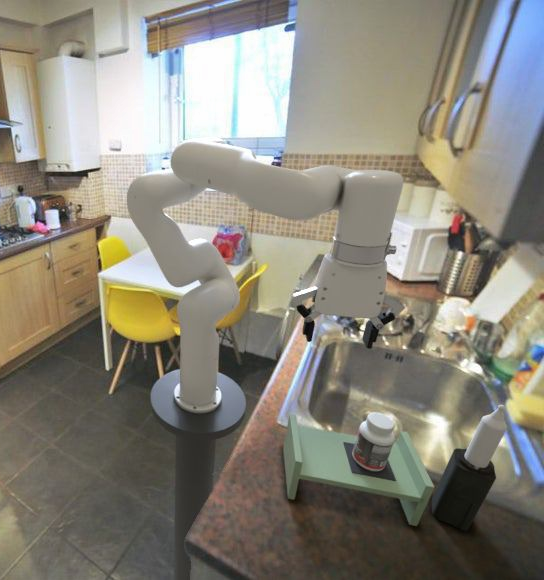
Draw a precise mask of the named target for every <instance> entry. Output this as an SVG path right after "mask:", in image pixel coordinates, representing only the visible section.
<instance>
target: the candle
mask: <svg viewBox="0 0 544 580" xmlns="http://www.w3.org/2000/svg"><path fill="white" fill-rule="evenodd" d="M506 409H507V407H506V406H505V405H504V404H499V405H498V406H497V409H495V410H494V411H493V412H491V413H490V414H487V415H483V416H482V418H481V419H480V421H479V423H478V425H477V427H476V429H475V432H474V434H473V436H472V438H471V440H470V443H469V445H468V446H467V448H458V447H457V448H454V449H453V451H452V453H451V456H450V458H449V460H448V462H447V464H446V466H445V469H444V471H443V473H442V475H441V476H440V480H439V482H438V484H437V486H436V488H435V491H434V493H433V494H432V496H431V513H432V516H433V517H434V518H435V519H437V520H438V521H440V522H444V523H447V524H448V525H450V526H453V527H455V528H458V529H459V530H461V531H468V530H469V529H470V527H471V525H472V523H473V522H474V520H475V518H476V516H477V514H478V513H479V510H480V509H481V507H482V505H483V503H484V501H485V499H486V498H487V496H488V494H489V492H490V490H491V488H492V487H493V485H494V484H495V481H496V479H497V475H496V471H495V464H494V463H493V462H492V458H493V456H494V455H495V453H496V451H497V448H499V444H500V443H501V441H502V439H503V437H504V435H505V433H506V431H507V429H508V425H507V423H506V420H505V411H506Z"/></svg>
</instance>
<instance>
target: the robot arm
mask: <svg viewBox="0 0 544 580" xmlns="http://www.w3.org/2000/svg"><path fill="white" fill-rule="evenodd" d="M403 185H404V178H403V176H402V174H401V173H399V172H396V171H392V170H385V169H353V168H347V167H342V166H339V165H331V164H329V165H328V164H326V165H319V166H315V167H311V168H310V167H309V168H307V169H304V170H299V169H293V168H292V169H291V168H287V167H284V166H283V167H282V166H277V165H274V164H273V165H272V164H268V163H265V162H262V161H260V160H257V157H256V154H255V152H254V151H253V150H252V149H249V148H245V147H240V146H236V145H235V146H233V145H229V144H228V142H226V141H224V140H223V139H221V138H219V137H218V138H217V137H203V138H201V137H200V138H192V139H187V140H184V141H183V142H181V143H179V144H178V145H177V146H176V147H175V148H174V150H173V151H172V154H171V156H170V168H168V169H159V170H153V171H149V172H146V173H142V174H140V175H139V176H137V177H135V178H134V179H133V181H132V182H130V184H129V186H128V188H127V192H126V208H127V212H128V214H129V217H130V219H131V221H132V223H133V224H134V226H135V228H136V229H137V230H138V232H139V233H140V234H141V236H142V238H143V239H144V241H145V242H146V245H148V247H149V250H150V252H151V253H152V256H153V258H154V260H155V261H156V264H157V265H158V267H159V269H160V271H161V273H162V274H163V276H164V278H165V279H166V282H168V284H169V285H170V286H172V287H174V288H184V287H186V286H189V285H191V284H193V283H195V282H197V281H198V282H199V285H197V286H196V287H194V288H192V289H190V290H189V291H187V292H186V293H184V294H183V295H182V296H181V297H180V299H179V300H178V302H177V306H176V315H177V320H178V324H179V336H180V337H179V340H180V341H179V342H180V343H179V348H180V349H179V351H180V352H179V369H180V383H179V384H178V385H177V386H176V387H175V390H174V399H175V401H176V403H177V404H178V405H179V406H180V407H181V408H183V409H184V410H186V411H189V412H193V413H207V412H211V411H213V410H215V409H216V408H217V407H218V406H219V405H220V403H221V400H222V394H221V391H220V389H219V388H218V387H217V372H219V371H218V369H219V354H220V336H219V334H218V332H217V324H218V322H219V321H221V320H222V319H224V318H225V317H226V316H228V315H229V314H231V313H232V312H234V310H236V309H237V308H238V306H239V304H240V301H241V293H240V289H239V286H238V284H237V282H236V280H235V278H234V276H233V274H232V272H231V271H230V269H229V267H228V265H227V263H226V261H225V259H224V257H223V256H222V254H221V252H220V251H219V249H218V248H217V246H216V245H214V244H213V243H212V242H211V241H209V240H206V239H203V238H197V239H193V240H190V241H188V240H187V238H186V237H185V235H184V234H183V232H182V230H181V228H180V226H179V225H178V223H177V222H176V221H175V220H174V219H173V218H172V217H170V215H168V214H166V213H165V212H164V209H166V208H171V207H174V206H178V205H181V204H185V203H187V202H189V201H191V200H193V199H195V198H196V197H197V196H198V195H200V194H201V193H202V192H204V191H205V190H207V189H209V190H213V191H216V192H221V193H223V194H227V195H230V196H234V197H235V198H236V199H237V200H238V201H240V202H241V203H243V205H245V206H247V207H248V208H251V209H253V210H255V211H258V212H261V213H265V214H268V215H272V216H274V217H278V218H281V219H285V220H289V221H297V222H298V221H299V222H300V221H302V222H303V221H305V222H306V221H310V220H314V219H315V218H317V217H320V216H321V215H323V214H326V213H330V212H335V211H337V212H338V214H337V219H336V225H335V229H334V233H333V234H334V235H333V239H332V244H331V249H330V253H329V252H328V253H325V254H324V256H323V259H322V260H321V262H320V263H321V264H320V266H319V269H318V272H317V275H316V279H315V281H314V286H313V287H309V288H306V289H303V290H301V291H298V292H295V293H292V294H291V298H292V301H293V304H294V306H295V308H296V311H297V312H298V313H299V315H301V317H302V318H303V325H302V336H305V339H306V341H307V343H311V342H312V341H313V336H314V331H315V326H316V323H315V322H316V321H315V320H316V319H317V318H319V317H320V316H321V315H325V316H326V315H327V316H332V317H333V316H335V317H342V318H343V317H345V318H353V319H354V318H356V319H369V320H367V321H366V324H365V327H364V330H363V333H362V334H363V335H362V338H361V341H362V342H363V344H364V346H365V348H367V350H368V349H370V350H372V348H373V345H374V343H376V342H377V341H378V337H379V332H380V330H383V328H384V327H385V326H386V325H388V324H390V323H392V322H393V321H395V320H396V317H398V316H399V315H400V314H401V313H402V312H403V311H404V310H405V309H406V307H405V305H404V304H403V302H401V301H399V300H398V299H396V298H393V297H392V296H390V295H388V294H387V293H386V287H387V276H388V262H387V260H386V258H387V256H389V255H395V254H396V253H397V245H391V244H389V240H390V236H391V233H392V229H393V226H394V222H395V217H396V214H397V210H398V205H399V203H400V199H401V195H402V191H403V187H404V186H403ZM308 299H311V302H312V304H311V305H309V306H308V307H306V305H304V303H303V301H305V300H308ZM383 304H385V305H386V306H388V307H389V308H388V309H387V310H385V311H383V312H382V308H383Z"/></svg>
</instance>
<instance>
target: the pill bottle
mask: <svg viewBox="0 0 544 580" xmlns="http://www.w3.org/2000/svg"><path fill="white" fill-rule="evenodd" d="M394 427H395V423H394V421H393V419H391V418H390V417H389V416H388V415H386V414H384V413H381V412H376V411H373V412H370V413H369V414H368V415H367V416H366V419H365V420H364V421H363V422H361V423H360V425H359V428H358V432H357V434H356V436H357V438H356V441H355V445H354V448H353V452H352V455H353V458H354V460H355V461H356V462H357V463H358V464H359V465H360V466H361V467H363V468H365V469H367V470H370V471H381V470H383V469H384V467H385V465H386V463H387V460H388V457H389V455H390V452H391V449H392V446H393V444H394V442H396V441H395V440H396V435H395V433H394Z"/></svg>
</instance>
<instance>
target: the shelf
mask: <svg viewBox="0 0 544 580" xmlns="http://www.w3.org/2000/svg"><path fill="white" fill-rule="evenodd" d="M356 438H357V435H355V434H348V433H341V432H336V431H332V430H331V431H329V430H325V429H320V428H319V429H318V428H313V427H312V428H311V427H306V426H300V425H298V420H297V414H295V413H289V415H288V420H287V425H286V431H285V436H284V442H283V448H282V450H283V461H284V471H285V483H286V493H287V495H286V496H287V499H288V500H293V501H295V499H296V496H297V491H298V486H299V480H303V481H308V482H313V483H318V484H325V485H329V486H332V487H333V486H334V487H339V488H344V489H349V490H354V491H358V492H364V493H367V494H374V495H379V496H384V497H389V498H394V499H398V500H399V501H400V504H401V507H402V510H403V512H404V514H405V517H406V520H407V522H408V525H410V526H415V527H417V526H418V525H419V523H420V521H421V518H422V516H423V514H424V512H425V510H426V508H427V505H428V503H429V500H430V498H431V497H432V495H433V492H434V490H435V489H436V488H435V485H434V483H433V481H432V479H431V477H430V475H429V474H428V471H427V469H426V467H425V465H424V462H423V461H422V459H421V457H420V454H419V452H418V451H417V449H416V447H415V445H414V442H413V441H412V439H411V437H410V435H409V432H408V431H403V430H400V431H399V434H398V436H397V439H396V441H394V444H393V446H392V449H391V452H390V455H389V457H388V460H387V463H386V465H385V467H384V469H383V470H381V471H370V470H367V469H365V468H363V467H361V466H360V465H359V464H358V463H357V462H356V461H355V460H354V458H353V455H352V452H353V448H354V445H355V441H356Z"/></svg>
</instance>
